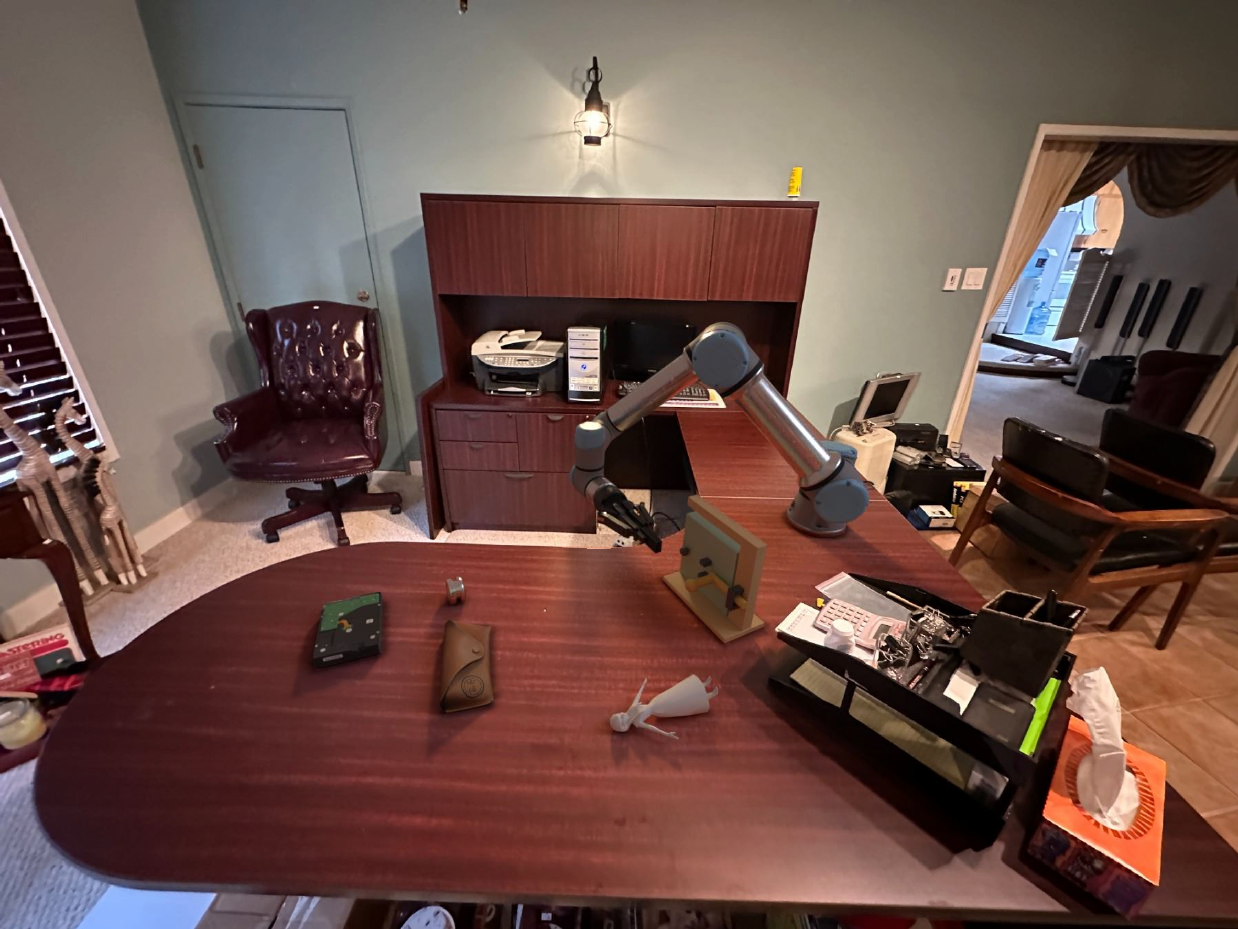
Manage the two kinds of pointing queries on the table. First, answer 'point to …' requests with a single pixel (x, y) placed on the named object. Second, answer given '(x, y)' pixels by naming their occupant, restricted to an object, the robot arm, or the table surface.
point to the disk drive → (349, 630)
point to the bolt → (711, 578)
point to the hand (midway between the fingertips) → (658, 547)
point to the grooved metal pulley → (455, 589)
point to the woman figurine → (667, 705)
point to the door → (719, 570)
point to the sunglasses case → (465, 667)
